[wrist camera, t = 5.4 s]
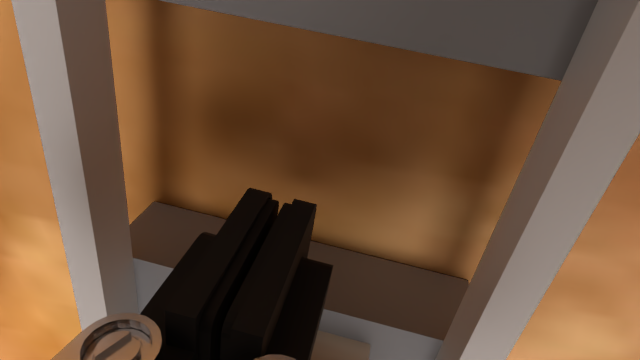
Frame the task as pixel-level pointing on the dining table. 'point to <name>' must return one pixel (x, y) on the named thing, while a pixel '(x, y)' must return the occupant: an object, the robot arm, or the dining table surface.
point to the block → (338, 348)
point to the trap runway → (348, 267)
